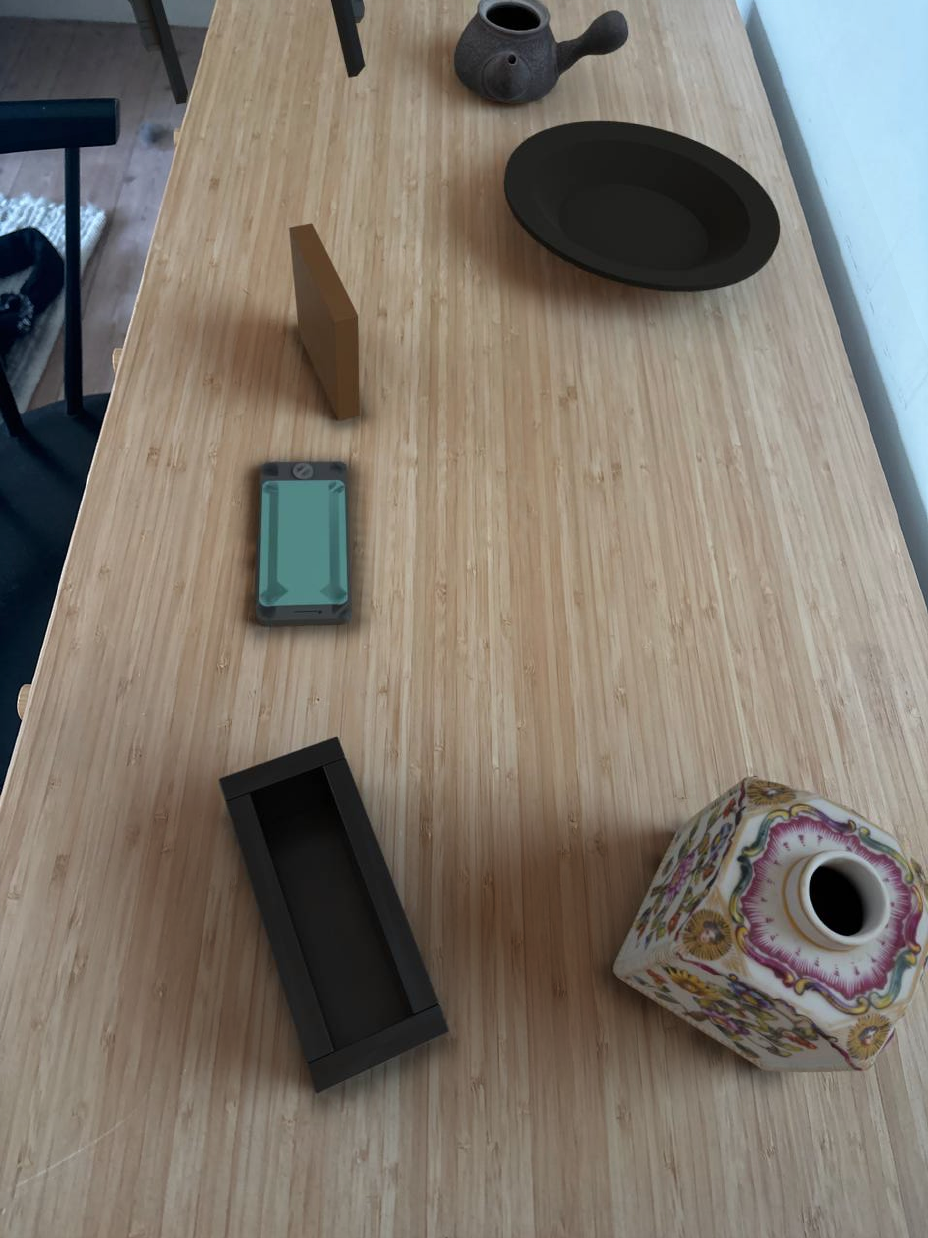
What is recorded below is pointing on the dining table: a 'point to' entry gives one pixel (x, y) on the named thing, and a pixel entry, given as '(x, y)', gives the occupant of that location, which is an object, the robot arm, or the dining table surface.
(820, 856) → the decorative jar
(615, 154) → the plate
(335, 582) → the smartphone
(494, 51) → the teapot
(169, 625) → the dining table surface
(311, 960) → the black open box
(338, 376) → the thin brown wooden plank
